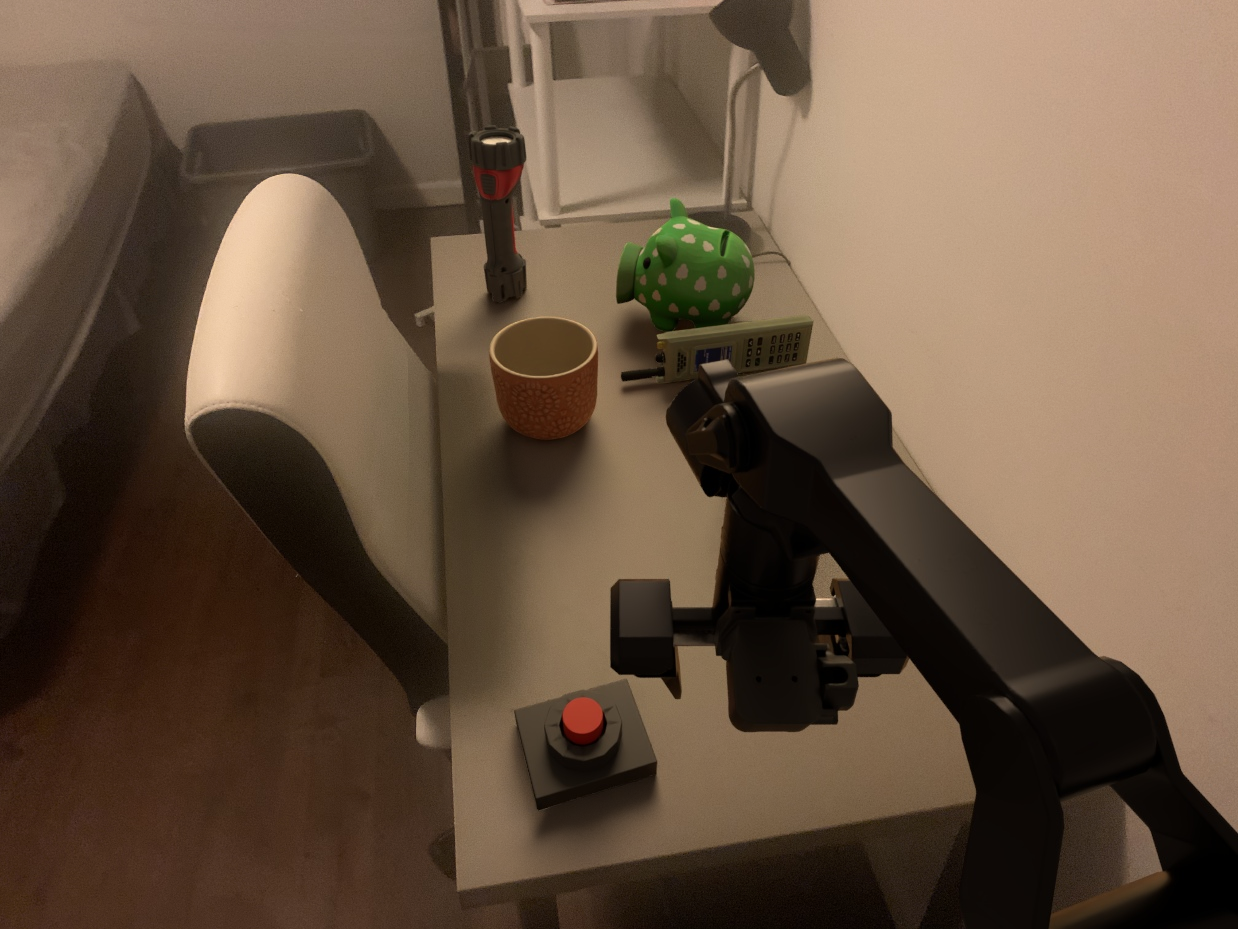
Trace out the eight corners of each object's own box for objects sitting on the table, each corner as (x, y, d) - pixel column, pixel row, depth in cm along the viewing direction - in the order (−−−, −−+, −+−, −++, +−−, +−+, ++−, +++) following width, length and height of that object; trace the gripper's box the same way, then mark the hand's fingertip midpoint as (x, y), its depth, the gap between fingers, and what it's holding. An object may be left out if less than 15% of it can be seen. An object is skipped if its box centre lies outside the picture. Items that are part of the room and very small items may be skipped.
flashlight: (527, 270, 125) (513, 119, 109) (543, 294, 120) (532, 139, 104) (478, 280, 123) (458, 127, 107) (493, 305, 117) (474, 148, 102)
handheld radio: (808, 368, 106) (624, 392, 102) (799, 354, 108) (618, 378, 105) (816, 324, 102) (623, 348, 98) (806, 311, 104) (618, 334, 100)
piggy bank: (632, 286, 121) (633, 190, 111) (752, 299, 118) (765, 202, 108) (612, 339, 111) (611, 239, 101) (743, 354, 108) (756, 253, 98)
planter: (606, 447, 95) (605, 372, 87) (500, 458, 93) (490, 383, 86) (592, 384, 103) (590, 311, 96) (496, 393, 102) (486, 320, 95)
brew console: (626, 691, 71) (626, 666, 68) (656, 774, 65) (658, 751, 63) (515, 723, 69) (511, 698, 66) (537, 811, 63) (533, 788, 61)
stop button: (596, 703, 66) (596, 692, 65) (608, 738, 64) (607, 727, 63) (559, 714, 65) (558, 703, 64) (569, 749, 63) (568, 739, 62)
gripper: (608, 671, 41) (610, 805, 52) (974, 670, 41) (900, 804, 52) (609, 512, 49) (611, 656, 60) (914, 511, 49) (862, 656, 60)
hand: (741, 693), depth 57 cm, fingers open, 9 cm apart
